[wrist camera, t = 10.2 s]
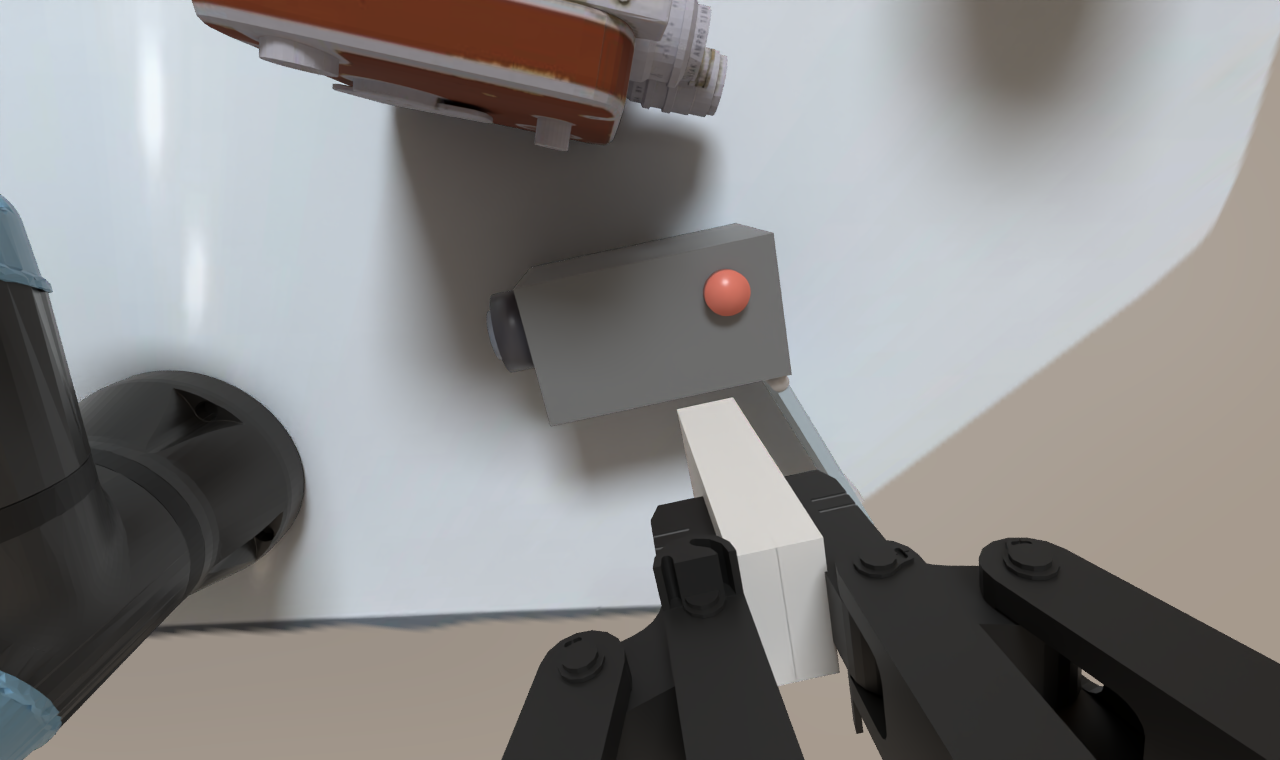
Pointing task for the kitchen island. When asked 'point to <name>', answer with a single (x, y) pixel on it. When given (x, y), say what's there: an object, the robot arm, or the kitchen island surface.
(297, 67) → the cine camera
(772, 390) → the side door
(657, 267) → the camera block
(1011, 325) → the kitchen island surface
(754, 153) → the kitchen island surface
